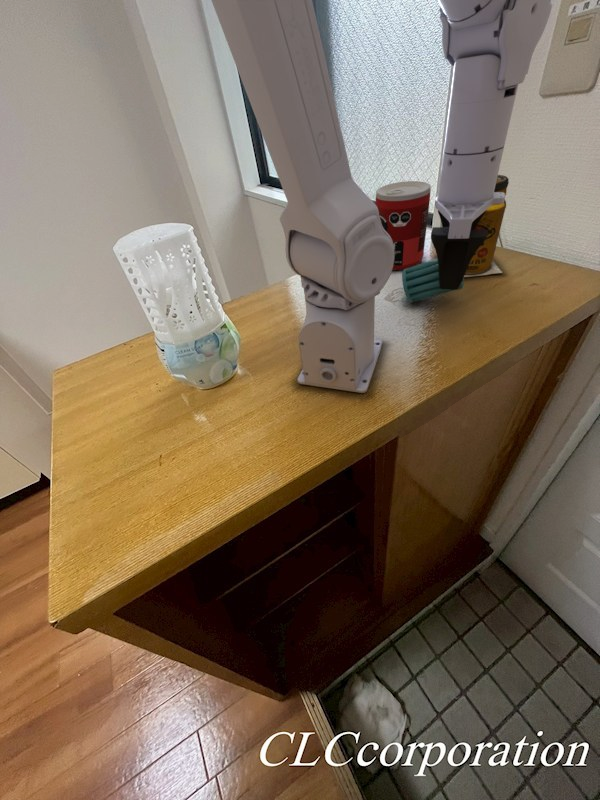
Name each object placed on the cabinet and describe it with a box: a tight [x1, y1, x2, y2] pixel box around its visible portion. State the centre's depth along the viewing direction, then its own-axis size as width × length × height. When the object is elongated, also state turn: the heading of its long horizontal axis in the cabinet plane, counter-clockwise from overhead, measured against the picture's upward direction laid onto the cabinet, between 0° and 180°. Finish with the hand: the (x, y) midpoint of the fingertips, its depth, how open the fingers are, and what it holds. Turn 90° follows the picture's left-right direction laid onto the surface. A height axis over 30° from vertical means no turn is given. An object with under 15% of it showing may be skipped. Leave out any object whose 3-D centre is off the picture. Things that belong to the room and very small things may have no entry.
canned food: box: [374, 180, 432, 271], centre depth 55 cm, size 8×8×11 cm
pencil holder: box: [401, 257, 465, 303], centre depth 46 cm, size 7×6×5 cm
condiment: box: [464, 174, 510, 278], centre depth 50 cm, size 7×8×12 cm
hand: (450, 275), depth 45 cm, fingers closed on pencil holder, 6 cm apart
